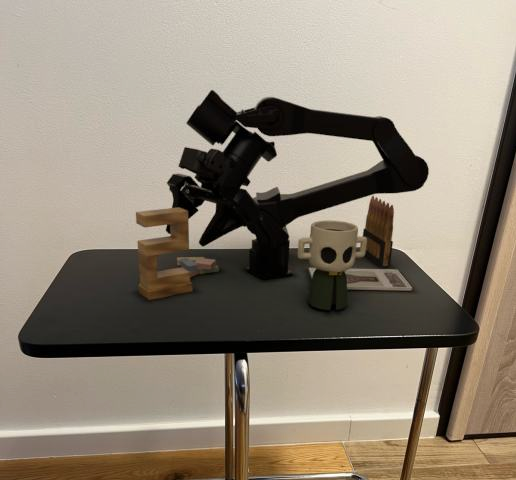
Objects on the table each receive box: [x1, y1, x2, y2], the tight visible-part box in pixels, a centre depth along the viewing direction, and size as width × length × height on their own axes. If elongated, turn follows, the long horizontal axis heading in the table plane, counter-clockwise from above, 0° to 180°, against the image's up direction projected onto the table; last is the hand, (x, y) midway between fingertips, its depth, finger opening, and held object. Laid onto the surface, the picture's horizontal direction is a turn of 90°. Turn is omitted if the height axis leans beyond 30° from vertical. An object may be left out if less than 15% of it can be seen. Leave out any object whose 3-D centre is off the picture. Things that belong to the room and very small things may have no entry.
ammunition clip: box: [362, 195, 395, 268], centre depth 108 cm, size 11×2×12 cm, turn 13°
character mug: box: [297, 219, 367, 311], centre depth 84 cm, size 11×7×13 cm, turn 101°
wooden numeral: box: [135, 207, 194, 301], centre depth 87 cm, size 8×4×13 cm, turn 126°
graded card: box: [308, 267, 413, 292], centre depth 98 cm, size 10×1×17 cm
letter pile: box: [176, 256, 220, 278], centre depth 100 cm, size 8×6×2 cm
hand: (183, 238), depth 89 cm, fingers open, 9 cm apart
